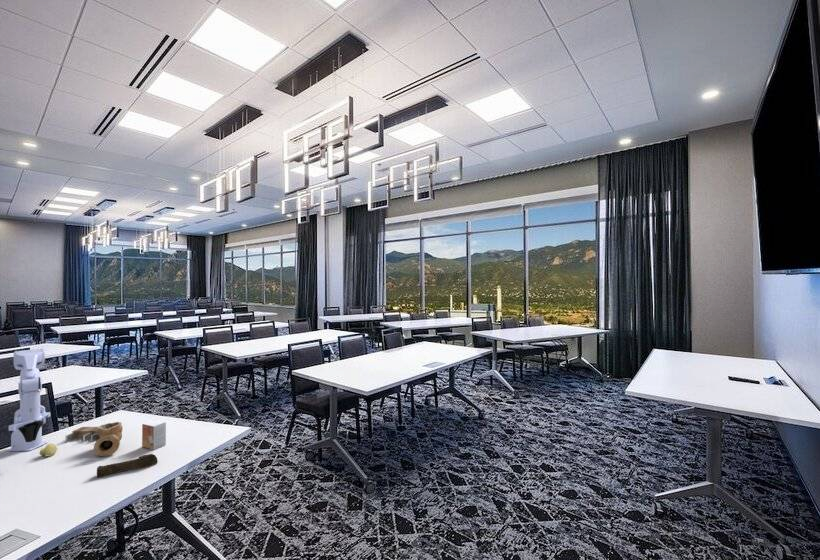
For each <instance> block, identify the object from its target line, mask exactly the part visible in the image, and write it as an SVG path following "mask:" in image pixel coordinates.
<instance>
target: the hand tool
mask: <svg viewBox="0 0 820 560" xmlns="http://www.w3.org/2000/svg"><path fill="white" fill-rule="evenodd" d="M156 464H158V457H157V456H156V455H155V454H153V453H149V454H143V455H140V456H139V457H137V458H134V459H130V460H126V461H121V462H116V463H111V464H105V465H99V466H97V467H96V476H97V477H96V478H100V477H104V476H106V475H111V474H115V473H118V472H123V471H124V472H125V471H128V470H133V469H145V468H148V467H151V466H154V465H156Z"/></svg>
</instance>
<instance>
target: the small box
mask: <svg viewBox="0 0 820 560" xmlns="http://www.w3.org/2000/svg"><path fill="white" fill-rule="evenodd" d="M141 429H142V430H141V434H142V436H141V438H142V439H141V446H142V448H145V449H146V448H147V449H150V450H153V451H154V450H157V449H159V448H161V446H162V447H164V446H166V444H167V443H166V442H167V439H166V438H167V434H166V433H167V422H166V421H161V420H156V419H152V420H149V421H147V422H144V423H142V428H141Z"/></svg>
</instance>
